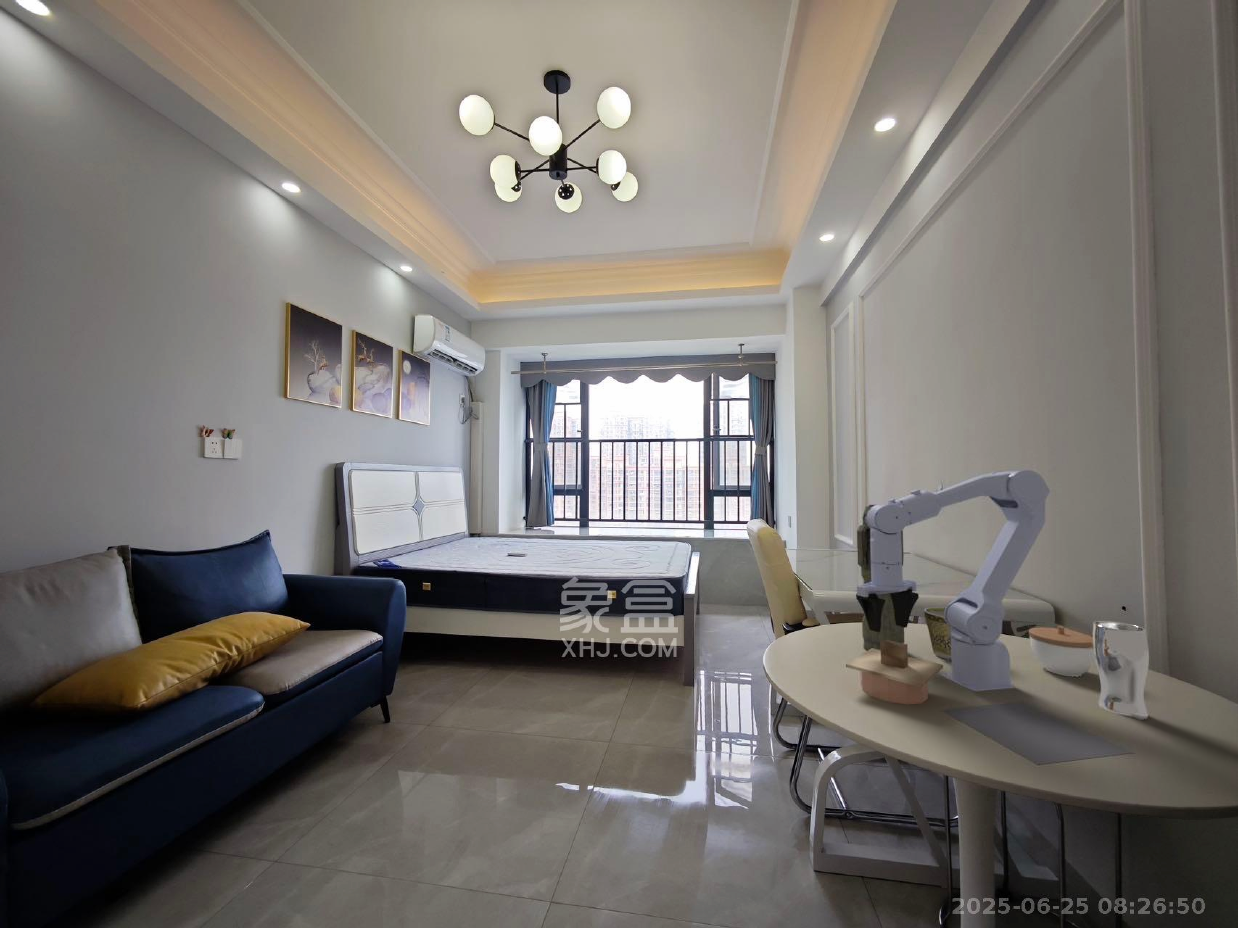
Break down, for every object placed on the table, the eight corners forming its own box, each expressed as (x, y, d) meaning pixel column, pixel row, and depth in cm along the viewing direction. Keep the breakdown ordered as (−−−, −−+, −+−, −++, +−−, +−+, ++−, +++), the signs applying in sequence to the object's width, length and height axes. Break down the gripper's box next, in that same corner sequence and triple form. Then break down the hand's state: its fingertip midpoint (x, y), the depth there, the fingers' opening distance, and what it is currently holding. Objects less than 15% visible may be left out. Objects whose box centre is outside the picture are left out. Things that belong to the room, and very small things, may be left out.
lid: (943, 667, 94) (942, 643, 94) (922, 687, 85) (921, 660, 85) (871, 650, 103) (871, 628, 103) (845, 667, 94) (845, 643, 95)
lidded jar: (1112, 682, 98) (1110, 635, 99) (1053, 680, 100) (1051, 633, 100) (1071, 663, 109) (1069, 620, 109) (1018, 660, 110) (1016, 619, 111)
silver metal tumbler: (1142, 725, 81) (1138, 634, 82) (1087, 708, 87) (1084, 623, 88) (1158, 715, 85) (1154, 627, 85) (1104, 699, 91) (1100, 618, 91)
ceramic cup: (958, 666, 108) (957, 620, 108) (915, 651, 117) (914, 609, 117) (994, 657, 113) (993, 613, 113) (950, 644, 122) (949, 603, 122)
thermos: (849, 646, 120) (846, 505, 122) (886, 641, 124) (882, 503, 126) (879, 659, 112) (875, 506, 113) (917, 652, 116) (913, 505, 117)
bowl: (897, 679, 100) (897, 655, 101) (941, 703, 90) (940, 675, 90) (849, 683, 99) (848, 658, 99) (887, 708, 88) (887, 680, 88)
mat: (1022, 704, 89) (1022, 701, 89) (1134, 755, 72) (1134, 752, 72) (940, 712, 86) (940, 709, 86) (1037, 768, 69) (1037, 764, 69)
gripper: (876, 567, 95) (878, 638, 95) (929, 562, 100) (931, 629, 100) (848, 562, 102) (849, 628, 101) (898, 558, 107) (900, 620, 107)
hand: (888, 628), depth 101 cm, fingers open, 7 cm apart
